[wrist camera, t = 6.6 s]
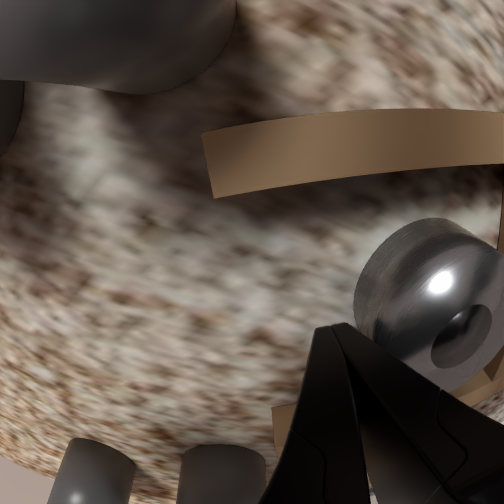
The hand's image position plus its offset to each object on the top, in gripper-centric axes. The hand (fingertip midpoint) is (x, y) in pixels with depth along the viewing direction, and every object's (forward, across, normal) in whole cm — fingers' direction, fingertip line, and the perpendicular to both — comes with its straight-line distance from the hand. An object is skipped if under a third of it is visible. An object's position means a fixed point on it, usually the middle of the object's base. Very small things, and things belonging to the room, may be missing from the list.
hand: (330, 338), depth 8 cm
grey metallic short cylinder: (+1, -3, 0) cm, 4 cm away
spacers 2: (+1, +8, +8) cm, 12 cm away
